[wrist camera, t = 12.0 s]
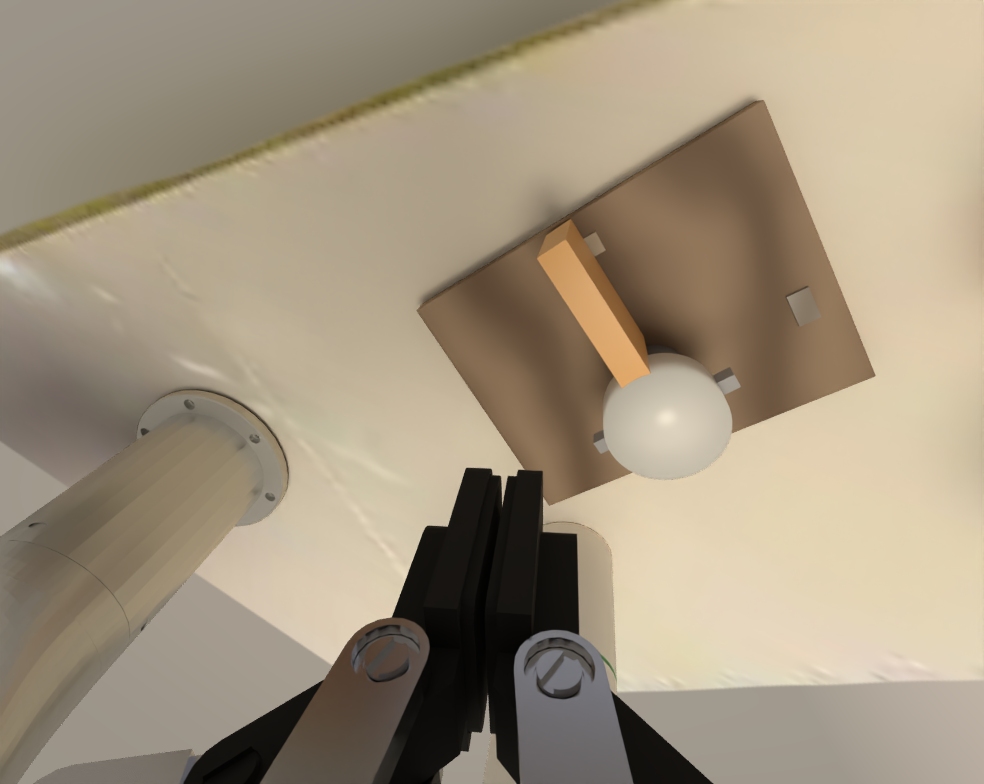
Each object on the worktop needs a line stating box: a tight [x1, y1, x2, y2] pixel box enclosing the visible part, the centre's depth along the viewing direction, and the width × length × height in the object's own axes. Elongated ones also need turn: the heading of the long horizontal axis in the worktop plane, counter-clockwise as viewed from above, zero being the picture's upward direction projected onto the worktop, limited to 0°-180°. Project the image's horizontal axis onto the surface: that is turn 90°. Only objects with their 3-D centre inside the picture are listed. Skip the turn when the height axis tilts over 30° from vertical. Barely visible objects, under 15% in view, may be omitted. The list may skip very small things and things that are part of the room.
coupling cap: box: [537, 219, 741, 480], centre depth 30 cm, size 14×8×6 cm, turn 35°
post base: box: [416, 100, 875, 506], centre depth 33 cm, size 22×17×6 cm
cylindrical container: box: [483, 522, 617, 784], centre depth 33 cm, size 7×7×25 cm
